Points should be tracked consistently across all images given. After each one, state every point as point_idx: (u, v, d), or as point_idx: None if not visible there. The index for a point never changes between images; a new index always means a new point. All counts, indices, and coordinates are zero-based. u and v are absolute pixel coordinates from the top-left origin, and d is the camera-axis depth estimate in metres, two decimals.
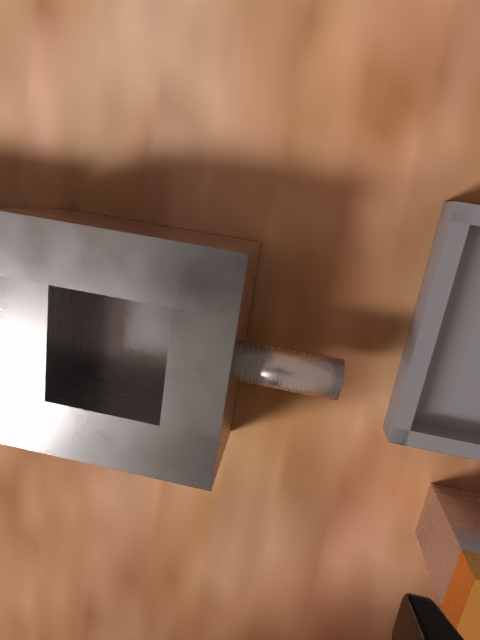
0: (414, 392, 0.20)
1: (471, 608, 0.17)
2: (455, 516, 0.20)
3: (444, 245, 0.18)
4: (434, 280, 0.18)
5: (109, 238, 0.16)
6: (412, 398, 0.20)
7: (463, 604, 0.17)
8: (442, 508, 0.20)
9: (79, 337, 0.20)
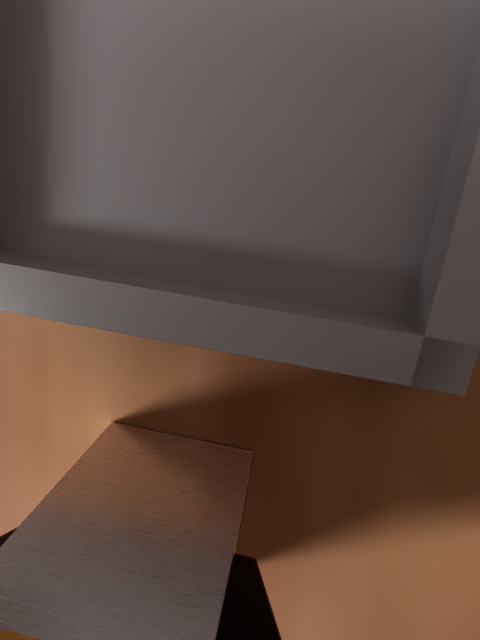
0: None
1: None
2: (80, 496, 0.07)
3: None
4: None
5: None
6: None
7: None
8: (64, 476, 0.07)
9: None
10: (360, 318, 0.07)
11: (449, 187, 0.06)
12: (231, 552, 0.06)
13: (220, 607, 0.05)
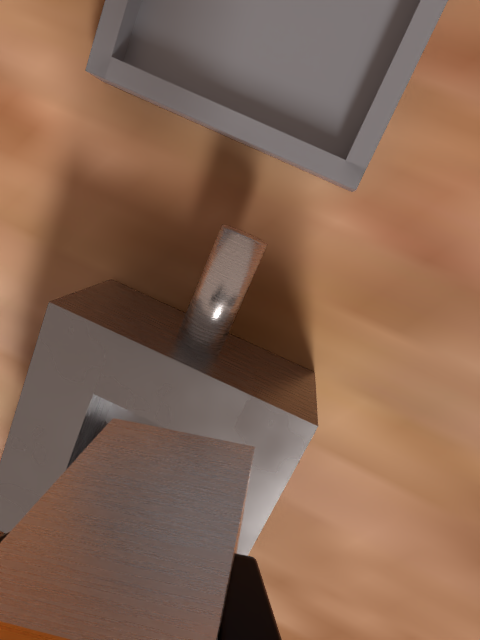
0: (294, 146, 0.16)
1: None
2: (82, 491, 0.07)
3: (128, 87, 0.16)
4: (164, 103, 0.16)
5: (18, 428, 0.16)
6: (302, 150, 0.16)
7: None
8: (65, 471, 0.07)
9: None
10: None
11: None
12: (233, 546, 0.06)
13: (222, 600, 0.05)
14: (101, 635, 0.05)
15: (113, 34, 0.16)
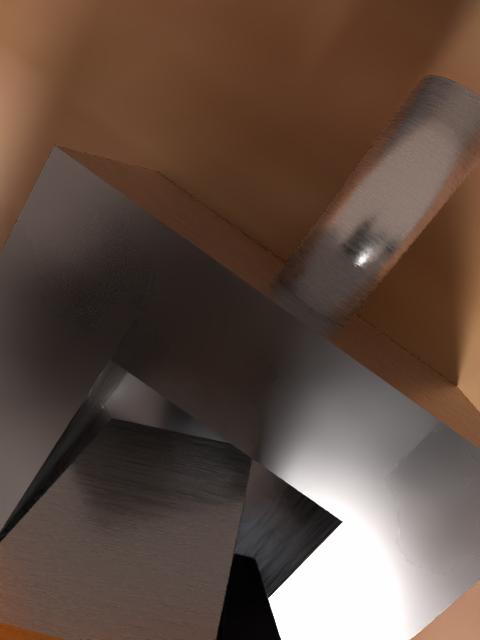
0: None
1: None
2: (81, 492, 0.07)
3: None
4: None
5: None
6: None
7: None
8: (65, 471, 0.07)
9: None
10: None
11: None
12: (232, 548, 0.06)
13: (221, 602, 0.05)
14: (100, 637, 0.05)
15: None
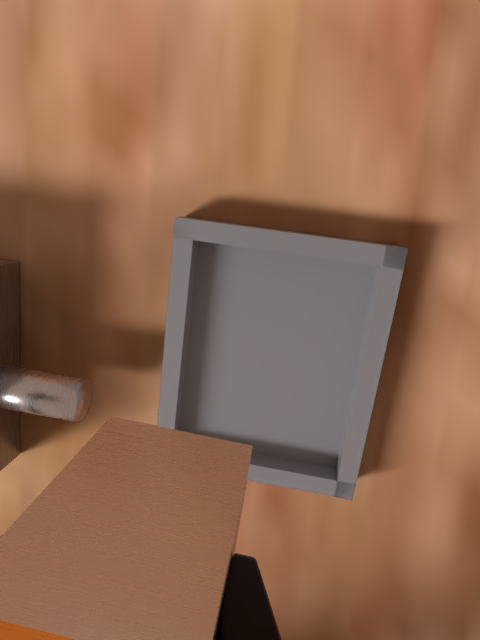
0: (170, 410, 0.19)
1: None
2: (79, 490, 0.07)
3: (172, 261, 0.18)
4: (169, 297, 0.18)
5: None
6: (168, 416, 0.19)
7: None
8: (63, 469, 0.07)
9: None
10: (316, 470, 0.20)
11: (344, 429, 0.19)
12: (231, 545, 0.06)
13: (219, 599, 0.05)
14: (97, 633, 0.05)
15: (210, 238, 0.17)
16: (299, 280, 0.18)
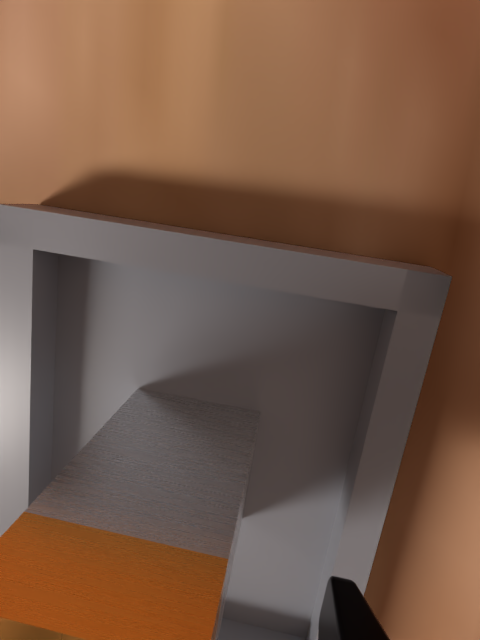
0: None
1: None
2: (119, 440, 0.08)
3: None
4: None
5: None
6: None
7: None
8: (103, 426, 0.09)
9: None
10: None
11: (322, 585, 0.11)
12: (244, 480, 0.08)
13: (237, 515, 0.07)
14: (146, 532, 0.06)
15: (66, 246, 0.09)
16: (242, 326, 0.10)
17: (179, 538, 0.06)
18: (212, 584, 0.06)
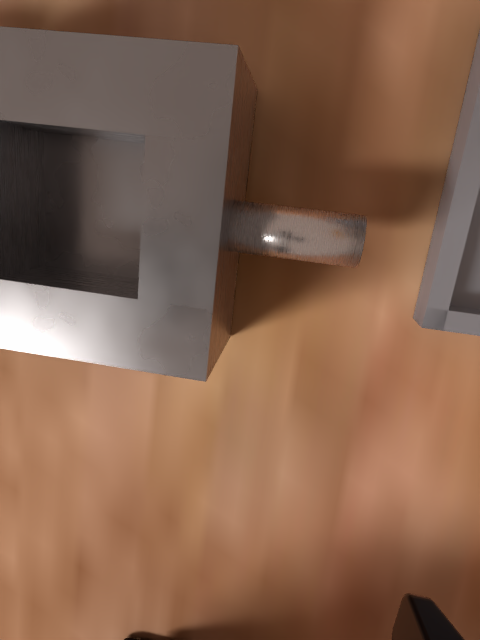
0: (452, 259, 0.16)
1: None
2: None
3: None
4: (475, 107, 0.15)
5: (58, 43, 0.13)
6: (450, 267, 0.16)
7: None
8: None
9: (41, 215, 0.17)
10: None
11: None
12: None
13: None
14: None
15: None
16: None
17: None
18: None
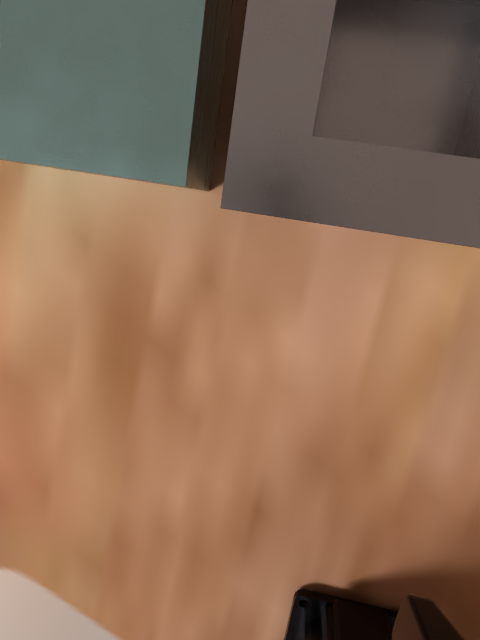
0: None
1: None
2: None
3: None
4: None
5: None
6: None
7: None
8: None
9: (322, 87, 0.15)
10: None
11: None
12: None
13: None
14: None
15: None
16: None
17: None
18: None
